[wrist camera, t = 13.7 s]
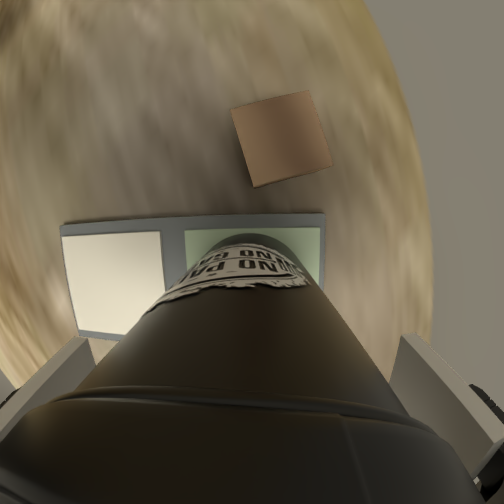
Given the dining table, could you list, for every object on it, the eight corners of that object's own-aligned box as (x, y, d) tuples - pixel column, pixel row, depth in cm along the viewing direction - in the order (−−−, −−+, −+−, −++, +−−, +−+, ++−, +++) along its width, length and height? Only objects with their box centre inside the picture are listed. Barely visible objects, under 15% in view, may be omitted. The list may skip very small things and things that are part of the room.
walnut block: (254, 188, 21) (253, 186, 16) (235, 128, 20) (229, 109, 15) (316, 171, 21) (333, 165, 16) (297, 112, 20) (308, 90, 15)
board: (83, 332, 24) (77, 337, 23) (64, 224, 22) (56, 226, 21) (317, 340, 23) (320, 347, 22) (322, 213, 21) (326, 214, 20)
